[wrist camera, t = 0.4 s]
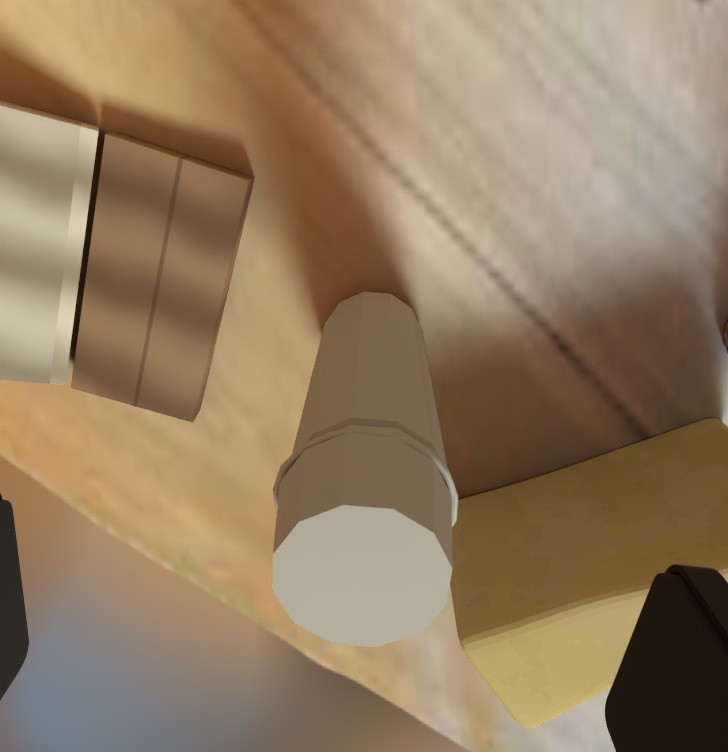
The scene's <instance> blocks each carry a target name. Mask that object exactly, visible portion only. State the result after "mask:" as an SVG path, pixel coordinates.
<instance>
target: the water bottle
mask: <svg viewBox="0 0 728 752" xmlns="http://www.w3.org/2000/svg"><path fill="white" fill-rule="evenodd" d="M273 493H274V500H275V507H276V513H277V519H276V529H275V539H274V549H273V575H272V592H273V593H274V595H275V596H276V598H277V599H278V601H279V602H280V604H281V605H282V607H283V608H284V610H285V611H286V613H287V614H288V615H289V617H290V618H291V620H292V621H293V623H294V624H296V625H298V626H300V627H301V628H303V629H305V630H307V631H309V632H311V633H313V634H315V635H317V636H319V637H321V638H323V639H324V640H326V641H328V642H330V643H332V644H345V645H357V646H370V647H378V646H382V645H385V644H388V643H391V642H394V641H397V640H400V639H403V638H406V637H409V636H412V635H415V634H418V633H419V632H420V631H421V630H422V629H423V628H424V627H425V626H426V625H427V624H428V623H429V622H430V621H431V620H432V619H433V618H434V617H435V616H436V615H437V614H438V613H439V612H440V611H441V610H442V609H443V608H444V607H445V606H446V603H447V597H448V592H449V586H450V581H451V575H452V569H453V563H452V527H453V526H454V524H455V522H456V520H457V509H458V494H457V491H456V488H455V484H454V481H453V479H452V477H451V474H450V472H449V470H448V468H447V463H446V457H445V452H444V446H443V441H442V435H441V430H440V424H439V419H438V414H437V408H436V403H435V397H434V392H433V386H432V381H431V375H430V370H429V365H428V359H427V354H426V348H425V343H424V337H423V332H422V329H421V327H420V325H419V323H418V321H417V318H416V316H415V314H414V312H413V310H412V308H411V307H409V306H408V305H406V304H405V303H403V302H402V301H400V300H399V299H398V298H396V297H395V296H393V295H392V294H390V293H378V292H366V291H363V292H361V293H359V294H356V295H354V296H352V297H350V298H348V299H345V300H343V301H341V302H339V304H338V305H337V307H336V308H335V309H334V311H333V312H332V314H331V315H330V317H329V318H328V319H327V321H326V322H325V325H324V329H323V333H322V337H321V341H320V345H319V349H318V353H317V357H316V361H315V365H314V369H313V373H312V377H311V381H310V385H309V389H308V393H307V397H306V401H305V405H304V409H303V413H302V417H301V421H300V425H299V429H298V433H297V437H296V441H295V445H294V449H293V453H292V455H291V456H290V457H289V458H288V459H287V460H286V461H285V462H284V463H283V464H282V465H281V466H280V469H279V472H278V475H277V479H276V482H275V485H274V488H273Z"/></svg>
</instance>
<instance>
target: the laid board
mask: <svg viewBox="0 0 728 752" xmlns="http://www.w3.org/2000/svg"><path fill="white" fill-rule="evenodd" d="M254 178H255V177H252V176H249V175H246V174H243V173H240V172H237V171H234V170H231V169H228V168H225V167H222V166H219V165H216V164H213V163H210V162H207V161H204V160H201V159H198V158H194V157H191V156H188V155H185V154H182V153H179V152H176V151H173V150H170V149H167V148H164V147H161V146H158V145H155V144H152V143H149V142H146V141H143V140H140V139H137V138H134V137H131V136H128V135H125V134H121V133H118V132H117V133H108V134H105V140H104V147H103V155H102V162H101V170H100V177H99V184H98V192H97V199H96V206H95V214H94V221H93V229H92V236H91V243H90V251H89V258H88V266H87V273H86V280H85V288H84V295H83V302H82V310H81V317H80V325H79V332H78V339H77V347H76V354H75V361H74V369H73V376H72V384H71V388H73V389H77V390H80V391H84V392H87V393H91V394H94V395H98V396H101V397H105V398H109V399H112V400H116V401H119V402H123V403H126V404H130V405H133V406H136V407H140V408H144V409H147V410H151V411H154V412H158V413H161V414H165V415H168V416H172V417H175V418H179V419H182V420H186V421H189V422H193V421H194V420H195V418H196V416H197V414H198V413H199V411H200V408H201V404H202V399H203V395H204V391H205V387H206V382H207V378H208V374H209V370H210V365H211V361H212V357H213V353H214V348H215V344H216V340H217V336H218V331H219V327H220V323H221V318H222V314H223V310H224V306H225V301H226V297H227V293H228V289H229V284H230V280H231V276H232V272H233V267H234V263H235V259H236V255H237V250H238V246H239V242H240V238H241V233H242V229H243V225H244V220H245V216H246V212H247V208H248V203H249V199H250V195H251V191H252V186H253V182H254Z"/></svg>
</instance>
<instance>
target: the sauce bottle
mask: <svg viewBox="0 0 728 752" xmlns="http://www.w3.org/2000/svg"><path fill="white" fill-rule="evenodd" d="M724 335H725V344H726V350H727V352H728V321H727V323H726V325H725V330H724Z"/></svg>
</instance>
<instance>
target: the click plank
mask: <svg viewBox="0 0 728 752" xmlns="http://www.w3.org/2000/svg"><path fill="white" fill-rule="evenodd" d="M98 132H99V131H98V126H97V125H93V124H89V123H86V122H82V121H78V120H74V119H70V118H67V117H63V116H59V115H55V114H52V113H48V112H44V111H40V110H36V109H33V108H29V107H25V106H21V105H17V104H14V103H10V102H6V101H2V100H0V380H12V381H24V382H36V383H48V384H60V385H65V384H66V376H67V368H68V361H69V353H70V345H71V338H72V330H73V323H74V315H75V307H76V300H77V292H78V284H79V277H80V269H81V261H82V254H83V246H84V239H85V231H86V223H87V216H88V208H89V200H90V193H91V185H92V178H93V170H94V162H95V155H96V147H97V139H98Z"/></svg>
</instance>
